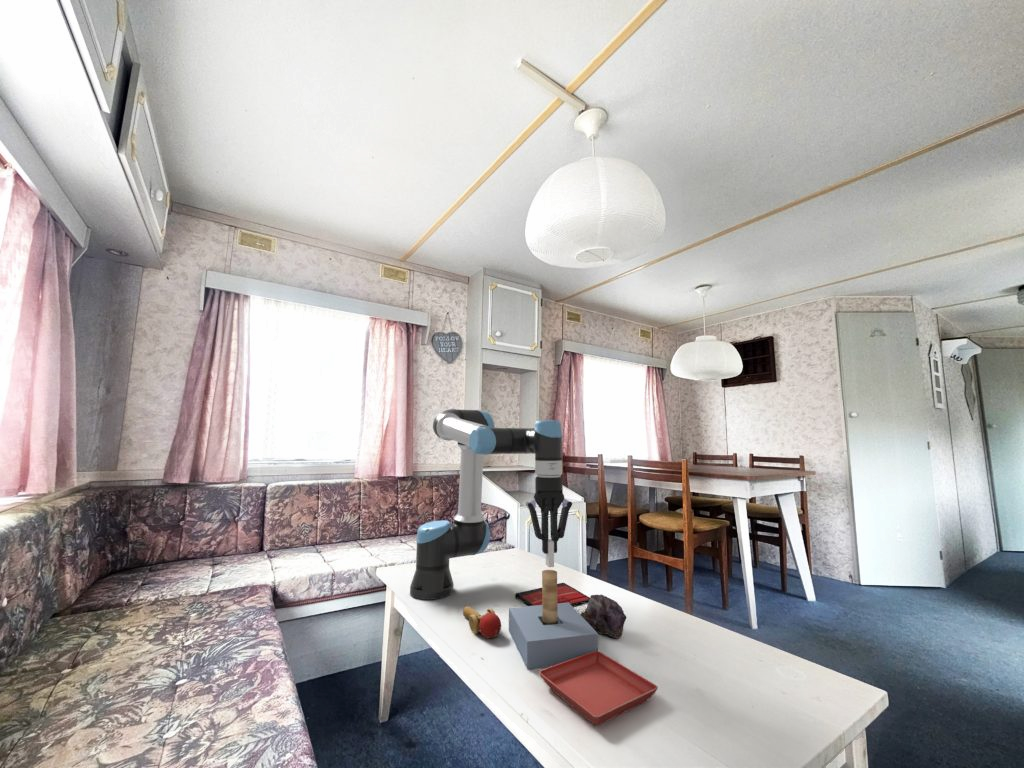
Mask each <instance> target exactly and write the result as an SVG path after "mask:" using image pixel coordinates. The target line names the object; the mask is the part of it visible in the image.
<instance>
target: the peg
mask: <svg viewBox="0 0 1024 768" xmlns="http://www.w3.org/2000/svg"><path fill="white" fill-rule="evenodd" d="M541 574H542V575H541V580H542V581H541V584H542V585H541V586H542V587H541V588H542V622H543V625H552V624H558V606H557V584H558V571H556V570H554V569H544V570H542V572H541Z"/></svg>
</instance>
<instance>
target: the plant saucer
mask: <svg viewBox="0 0 1024 768" xmlns="http://www.w3.org/2000/svg"><path fill="white" fill-rule="evenodd" d="M538 673H539V676H540V677H541V678H542V680H543V681H544V683H545V684H546V685H547V686H548V688H549V689H551V691H553V692H554V693H555V694H557V695H558V696H559V697H561V699H562V700H564V701H565V702H566V703H568V704H569V705H570V706H571V707H573V708H574V709H575V710H576V711H577V712H578V713H580V714H581V715H582V716H583V717H585V718H586V719H587V720H588V721H590V722H591V723H592V724H593V725H595V726H600V725H601V724H604V723H605V722H608V721H610V720H612V719H613V718H615V717H617V716H619V715H621V714H623V713H624V714H625V712H627V711H630V710H632V709H633V708H635V707H637V706H640V705H642V704H644V703H646V702H647V701H648V700H649V699H650V698H651V697H652V696H654V694H655V693H656V692H657V691H658V689H659V687H658V686H657V685H656V684H655V683H654V682H652V681H649V680H648V679H646V678H644V677H643V676H641V675H640V674H638V673H636V672H635V671H634V670H631V669H630V668H628V667H627V666H625V665H623V664H621V663H619V662H618V661H616V660H614V659H613V658H612V657H610V656H607V654H605V653H603V652H601V651H599V650H598V651H593V652H590V653H588V654H585V655H582V656H579V657H576V658H574V659H571V660H568V661H565V662H562V663H560V664H557V665H554V666H549V667H545V668H542V669H541V670H539V672H538Z"/></svg>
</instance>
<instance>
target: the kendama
mask: <svg viewBox="0 0 1024 768" xmlns="http://www.w3.org/2000/svg"><path fill="white" fill-rule="evenodd" d="M462 615H463V617H465V618H467V619H468V625H469V628H470V631H471V632H472V634H474V635H476V634H479V633H481V635H482V636H483V637H484V638H487V639H492V638H493V639H495V638H496V637H497V636H498V635H499V633H500V632H501V629H502V622H501V619H500V617H499V616H498V615H497V614H496V612H495V610H494V609H493V608H488V609H487V610H486V612H485V613H484V614H482V615H481V614H480V613H479V612H477V610H475V609H474V608H472V607H471V606H468V605H467V606H466V607H464V608H463V610H462Z"/></svg>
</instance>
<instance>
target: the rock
mask: <svg viewBox="0 0 1024 768" xmlns="http://www.w3.org/2000/svg"><path fill="white" fill-rule="evenodd" d="M589 597H590V599H589V602H588V603H587V605H586V608H584V611H581V613H580V615H581V616H582V617H583V618H584V619H585V620H586V621H587V622H588V624H589V625H590V626H591V627H592V628H593V629H594V630H595V631H596V632H597V633H598V634H601V635H608V636H609V637H612V638H613V639H621V637H622V635H623V631H624V625H625V622H626V620H627V618H628V617H627V615H626V614H625V613H624V610H623V608H622V606H621V605H620V604H619V602H618V601H615V600H614V599H611V597H608V596H606V595H604V594H591V595H590V596H589Z"/></svg>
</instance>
